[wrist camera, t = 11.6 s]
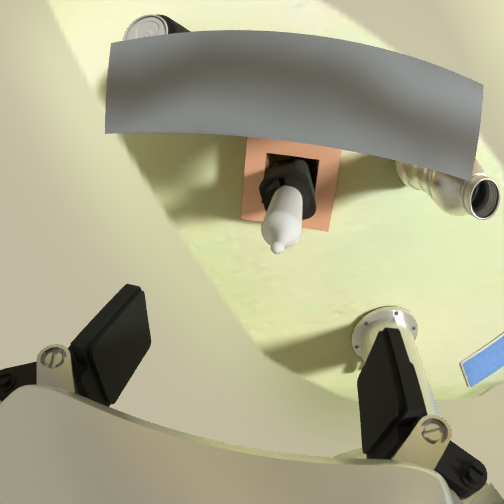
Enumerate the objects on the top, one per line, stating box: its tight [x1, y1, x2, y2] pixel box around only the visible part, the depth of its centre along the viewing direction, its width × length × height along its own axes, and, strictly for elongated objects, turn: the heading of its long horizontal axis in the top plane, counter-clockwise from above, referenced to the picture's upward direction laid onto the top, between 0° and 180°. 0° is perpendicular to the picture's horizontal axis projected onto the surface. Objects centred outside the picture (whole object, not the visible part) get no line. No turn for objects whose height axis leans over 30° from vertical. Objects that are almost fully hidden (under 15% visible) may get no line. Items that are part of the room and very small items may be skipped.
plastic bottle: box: [395, 159, 500, 220], centre depth 28 cm, size 6×7×20 cm
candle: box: [259, 157, 317, 254], centre depth 30 cm, size 5×5×25 cm
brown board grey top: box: [105, 30, 483, 181], centre depth 25 cm, size 6×22×26 cm, turn 85°
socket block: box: [241, 137, 342, 232], centre depth 38 cm, size 12×12×5 cm
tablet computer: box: [460, 333, 504, 387], centre depth 47 cm, size 19×13×1 cm, turn 130°
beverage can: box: [123, 14, 190, 41], centre depth 30 cm, size 7×7×12 cm
